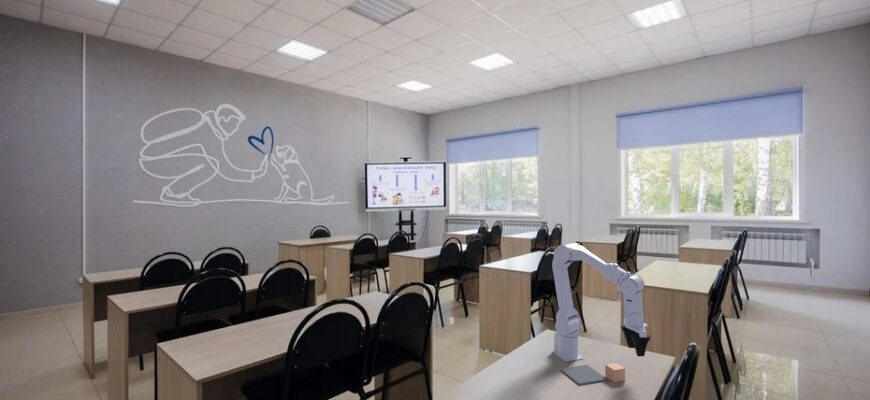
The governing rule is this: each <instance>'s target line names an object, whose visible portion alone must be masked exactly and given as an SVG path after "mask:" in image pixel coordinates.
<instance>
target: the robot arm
mask: <svg viewBox="0 0 870 400" xmlns="http://www.w3.org/2000/svg"><path fill="white" fill-rule="evenodd" d="M574 261H575V262H576V261H582V262H584V263H586V264H587V265H590V266H591V267H593V268H594V269H596V270H599V271H600V272H601V274H602V277H604V278H605V279H607V280H608V281H610V282H612V283H613V284H615V285H616V286H618V287H619V289H620V291H621V292H622V294H623V308H624V310H623V311H624V318H623V324H624V325H621V326H620V329H621V330H622V332H623V335H624V336H625V340H626V344H627V347H628V348H629V349H634V348H635V354H636V356H637V357H645V355H646V350H647V346H648V343H649V342H650V340H651V336H650V335H649V334H648V333H647V330H646V328H648V326H649V325H648V324H647V323H645V319H644V307H643V306H644V305H643V304H644V303H643V291H642V290H643V289H644V288H645V281H644V279H643V278H642V277H640V275H639V274H632V272H630V271H626V270H625V269H623V268H621V267H619V264H618V263H613V262H609V263H606V262H605V261H604V260H603V259H601V258H600V257H598V256H596V255H595V254H594V253H592V252H590V251H589V250H588V249H587V248H586V247H585V246H584V245H580V244H579V243H577V242H571V243H565V244H560V245H558V246H557V247H556V248H555V249H554V250H553V259H552V263H551V266H552V267H551V268H552V273H553V280H554V284H555V291H556V292H555V293H556V298H557V303H558V311H557V313H556V314H555V324H554V326H555V327H554V328H555V330H556V331H555V333H554V336H553V344H554V346H553V350H552V351H551V352H552V353H553V354H554V355H556V356H557V357H558V358H559V359H561V360H562V361H564V362H572V361H579V360H584V357H583V356H581V355H580V354H579V333H580V330H581V329H582V326H583V322H582V319H581V318H580V316H579V312H578V311H577V309H576V308H574V302H573V295H572V289H571V285H570V284H571V283H570V278H569V277H570V276H569V271H568V267H569V266H570V265H571V264H572V263H573V262H574Z"/></svg>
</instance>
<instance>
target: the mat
mask: <svg viewBox="0 0 870 400" xmlns="http://www.w3.org/2000/svg"><path fill="white" fill-rule="evenodd" d="M560 371H561V372H562V373H563V374H564V375H566V376H567V377H568V378H570V379H571V380H572V381H573V382H574V383H576V384H577V385H578V386H584V385H588V384H596V383H600V382H607V381H608V378H607V377H605V375H602V374H601V373H600V372H598V371H597V370H595V369H594V368H592V367H591V366H590V365H588V364H583V365H582V364H581V365H576V366H575V365H574V366H570V367H569V366H568V367H563V368H560Z"/></svg>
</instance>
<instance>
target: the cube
mask: <svg viewBox="0 0 870 400" xmlns="http://www.w3.org/2000/svg"><path fill="white" fill-rule="evenodd" d="M604 365H605V367H604V368H605V372H604V373H605V374H604V377H605V378H607V380H608V379H609V380H610V382H613V383H619V382H626V368H625V367H624V366H622V365H621V364H619V363H617V362H613V363H606V364H604Z"/></svg>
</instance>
